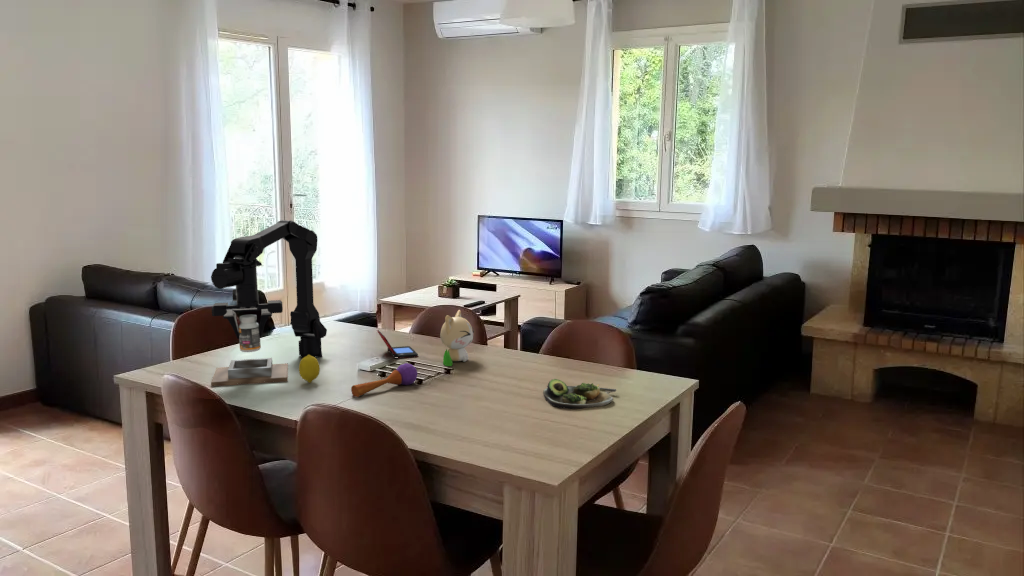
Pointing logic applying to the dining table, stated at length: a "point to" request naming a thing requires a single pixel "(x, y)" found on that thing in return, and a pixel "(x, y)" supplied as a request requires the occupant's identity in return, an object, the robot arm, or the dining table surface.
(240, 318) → the pill bottle
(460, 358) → the kitten
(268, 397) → the dining table surface
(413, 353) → the handheld game console
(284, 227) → the robot arm
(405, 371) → the purple and orange maraca
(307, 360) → the lemon
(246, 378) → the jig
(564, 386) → the salad plate
